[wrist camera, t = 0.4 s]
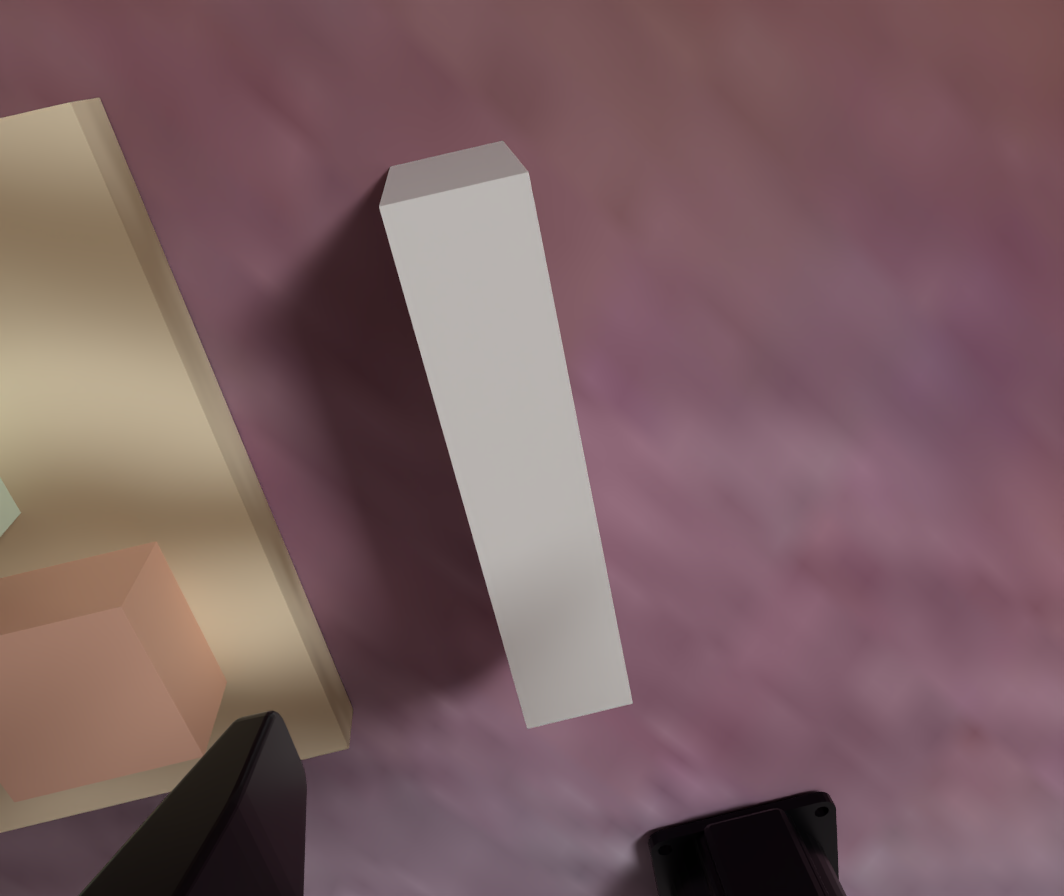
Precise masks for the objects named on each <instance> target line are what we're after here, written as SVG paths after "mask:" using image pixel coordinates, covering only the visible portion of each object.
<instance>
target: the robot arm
mask: <svg viewBox="0 0 1064 896" xmlns="http://www.w3.org/2000/svg"><path fill="white" fill-rule="evenodd" d="M306 798H307V784H306V776H305V771H304V767H303V764H302V762H301V759H300V757H299V755H298V752H297V750H296V748H295V745H294V743H293V741H292V738H291V736H290V734H289V731H288V729H287V726H286V724H285V722H284V720H283V718H282V717H281V715H280V714H279V713H278V712H275V711H266V712H261V713H257V714H252V715H247V716H243V717H240V718H238V719H236V720H235V721H234V722H233V723H232V724H231V725H230V726H229V727H228V728H227V729H226V730H225V732H224V733H223V734H222V735H221V736H220V737H219V738H218V739H217V741H216V742H215V743H214V744H213V745H212V746H211V747H210V748H209V750H208V751H207V752H206V753H205V754H204V755H203V756H202V757H201V758H200V760H199V761H198V762H197V763H196V764H195V765H194V766H193V767H192V769H191V770H190V771H189V772H188V773H187V774H186V775H185V776H184V778H183V779H182V780H181V781H180V782H179V783H178V784H177V785H176V787H175V788H174V789H173V790H172V791H171V792H170V793H169V794H168V796H167V797H166V798H165V799H164V800H163V801H162V802H161V803H160V805H159V806H158V807H157V808H156V809H155V810H154V811H153V812H152V814H151V815H150V816H149V817H148V818H147V819H146V820H145V821H144V823H143V824H142V825H141V826H140V827H139V828H138V829H137V830H136V832H135V833H134V834H133V835H132V836H131V837H130V838H129V839H128V841H127V842H126V843H125V844H124V845H123V846H122V847H121V848H120V850H119V851H118V852H117V853H116V854H115V855H114V856H113V857H112V858H111V860H110V861H109V862H108V863H107V864H106V865H105V866H104V867H103V869H102V870H101V871H100V872H99V873H98V874H97V875H96V876H95V878H94V879H93V880H92V881H91V882H90V883H89V884H88V885H87V887H86V888H85V889H84V890H83V891H82V892H81V893H80V894H79V896H303V894H304V862H305V830H306ZM648 845H649V850H650V855H651V860H652V865H653V869H654V874H655V879H656V884H657V889H658V894H659V896H846V894H845V892H844V890H843V888H842V886H841V884H840V882H839V875H838V850H837V825H836V807H835V805H834V803H833V801H832V799H831V797H830V795H828V794H827V793H825V792H815V793H811V794H807V795H803V796H799V797H795V798H791V799H787V800H783V801H779V802H775V803H771V804H767V805H762V806H758V807H754V808H750V809H746V810H742V811H738V812H734V813H730V814H726V815H722V816H718V817H714V818H709V819H705V820H701V821H697V822H693V823H689V824H685V825H681V826H677V827H673V828H669V829H665V830H661V831H658V832H655V833H654V834H653V835H651V836H650V838H649V840H648Z"/></svg>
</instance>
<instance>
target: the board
mask: <svg viewBox="0 0 1064 896" xmlns="http://www.w3.org/2000/svg"><path fill="white" fill-rule="evenodd" d="M0 478H1V479H2V481H3V483H4V485H5V486H6V488H7V490H8V491H9V493H10V495H11V496H12V498H13V500H14V502H15V503H16V505H17V507H18V508H19V510H20V512H21V514H20V515H19V516H18V517H17V518H16V519H15V520H14V522H13V523H12V524H11V525H10V526H9V527H8V529H7V530H6V531H5V532H4V533H3V534H2V536H1V537H0V578H3V577H7V576H12V575H16V574H20V573H24V572H29V571H33V570H37V569H41V568H45V567H50V566H54V565H58V564H62V563H67V562H71V561H75V560H79V559H83V558H88V557H92V556H96V555H100V554H105V553H109V552H113V551H117V550H121V549H126V548H130V547H134V546H138V545H143V544H147V543H151V542H155V541H157V543H158V545H159V547H160V549H161V551H162V553H163V555H164V557H165V559H166V561H167V563H168V565H169V567H170V569H171V571H172V573H173V575H174V577H175V579H176V581H177V583H178V585H179V587H180V589H181V591H182V593H183V595H184V597H185V599H186V601H187V603H188V605H189V607H190V609H191V611H192V613H193V615H194V617H195V619H196V621H197V623H198V625H199V627H200V629H201V631H202V633H203V635H204V637H205V639H206V641H207V643H208V645H209V647H210V649H211V651H212V653H213V655H214V657H215V659H216V661H217V663H218V665H219V667H220V669H221V671H222V673H223V675H224V677H225V679H226V681H227V684H226V687H225V690H224V694H223V697H222V700H221V703H220V707H219V710H218V713H217V716H216V720H215V723H214V726H213V729H212V733H211V736H210V739H209V742H208V746H207V749H206V752H207V751H208V750H209V748H210V747H211V746H212V745H213V744H214V743H215V742H216V741H217V739H218V738H219V737H220V736H221V735H222V734H223V733H224V732H225V730H226V729H227V728H228V727H229V726H230V725H231V724H232V723H233V722H234V721H235V720H236V719H238V718H240V717H243V716H247V715H252V714H257V713H261V712H266V711H275V712H278V713H279V714H280V715H281V717H282V718H283V720H284V722H285V724H286V726H287V729H288V731H289V734H290V736H291V738H292V741H293V743H294V745H295V748H296V750H297V752H298V755H299V757H300V759H301V760H303V759H308V758H312V757H316V756H320V755H324V754H328V753H332V752H336V751H341V750H345V749H349V744H350V734H351V725H352V715H353V708H352V706H351V703H350V701H349V698H348V696H347V693H346V691H345V689H344V686H343V684H342V681H341V679H340V677H339V674H338V672H337V669H336V667H335V665H334V662H333V660H332V657H331V655H330V652H329V650H328V648H327V645H326V643H325V640H324V638H323V636H322V633H321V631H320V628H319V626H318V624H317V621H316V619H315V616H314V614H313V611H312V609H311V607H310V604H309V602H308V599H307V597H306V595H305V592H304V590H303V587H302V585H301V583H300V580H299V578H298V575H297V573H296V570H295V568H294V566H293V563H292V561H291V558H290V556H289V554H288V551H287V549H286V546H285V544H284V542H283V539H282V537H281V534H280V532H279V529H278V527H277V525H276V522H275V520H274V517H273V515H272V513H271V510H270V508H269V505H268V503H267V501H266V498H265V496H264V493H263V491H262V488H261V486H260V484H259V481H258V479H257V476H256V474H255V472H254V469H253V467H252V464H251V462H250V460H249V457H248V455H247V452H246V450H245V448H244V445H243V443H242V440H241V438H240V435H239V433H238V431H237V428H236V426H235V423H234V421H233V419H232V416H231V414H230V411H229V409H228V407H227V404H226V402H225V399H224V397H223V394H222V392H221V390H220V387H219V385H218V382H217V380H216V378H215V375H214V373H213V370H212V368H211V366H210V363H209V361H208V358H207V356H206V353H205V351H204V349H203V346H202V344H201V341H200V339H199V337H198V334H197V332H196V329H195V327H194V325H193V322H192V320H191V317H190V315H189V312H188V310H187V308H186V305H185V303H184V300H183V298H182V296H181V293H180V291H179V288H178V286H177V284H176V281H175V279H174V276H173V274H172V271H171V269H170V267H169V264H168V262H167V259H166V257H165V255H164V252H163V250H162V247H161V245H160V243H159V240H158V238H157V235H156V233H155V230H154V228H153V226H152V223H151V221H150V218H149V216H148V214H147V211H146V209H145V206H144V204H143V202H142V199H141V197H140V194H139V192H138V189H137V187H136V185H135V182H134V180H133V177H132V175H131V173H130V170H129V168H128V165H127V163H126V161H125V158H124V156H123V153H122V151H121V148H120V146H119V144H118V141H117V139H116V136H115V134H114V132H113V129H112V127H111V124H110V122H109V120H108V117H107V115H106V112H105V110H104V107H103V105H102V103H101V100H100V98H94V99H88V100H82V101H76V102H70V103H65V104H61V105H57V106H52V107H48V108H43V109H39V110H35V111H30V112H26V113H21V114H17V115H13V116H8V117H4V118H0ZM206 752H205V753H206ZM199 760H200V758H196V759H192V760H188V761H184V762H180V763H176V764H172V765H167V766H163V767H159V768H155V769H151V770H147V771H143V772H138V773H134V774H130V775H126V776H122V777H118V778H114V779H109V780H105V781H101V782H97V783H93V784H89V785H85V786H81V787H76V788H72V789H68V790H64V791H60V792H56V793H52V794H47V795H43V796H39V797H35V798H31V799H27V800H23V801H18V802H14V801H13V800H12V798H11V797H10V796H9V794H8V793H7V792H6V790H5V789H4V788H3V786H2V785H1V783H0V833H2V832H6V831H10V830H14V829H18V828H22V827H27V826H31V825H35V824H39V823H43V822H47V821H51V820H56V819H60V818H64V817H68V816H72V815H76V814H80V813H84V812H89V811H93V810H97V809H101V808H105V807H109V806H113V805H117V804H122V803H126V802H130V801H134V800H138V799H142V798H146V797H151V796H155V795H159V794H163V793H167V792H171V791H172V790H173V789H174V788H175V787H176V785H177V784H178V783H179V782H180V781H181V780H182V779H183V778H184V776H185V775H186V774H187V773H188V772H189V771H190V770H191V769H192V767H193V766H194V765H195V764H196V763H197V762H198V761H199Z"/></svg>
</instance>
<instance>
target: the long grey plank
mask: <svg viewBox="0 0 1064 896" xmlns="http://www.w3.org/2000/svg"><path fill="white" fill-rule="evenodd" d="M379 209H380V212H381V216H382V219H383V223H384V226H385V230H386V233H387V237H388V240H389V244H390V247H391V251H392V254H393V258H394V261H395V265H396V269H397V272H398V276H399V279H400V283H401V286H402V290H403V293H404V297H405V300H406V304H407V307H408V311H409V314H410V318H411V321H412V325H413V328H414V332H415V335H416V339H417V342H418V346H419V349H420V353H421V356H422V360H423V364H424V367H425V371H426V374H427V378H428V381H429V385H430V388H431V392H432V395H433V399H434V402H435V406H436V409H437V413H438V416H439V420H440V423H441V427H442V430H443V434H444V437H445V441H446V444H447V448H448V451H449V455H450V459H451V462H452V466H453V469H454V473H455V476H456V480H457V483H458V487H459V490H460V494H461V497H462V501H463V504H464V508H465V511H466V515H467V518H468V522H469V525H470V529H471V532H472V536H473V539H474V543H475V547H476V550H477V554H478V557H479V561H480V564H481V568H482V571H483V575H484V578H485V582H486V585H487V589H488V592H489V596H490V599H491V603H492V606H493V610H494V613H495V617H496V620H497V624H498V627H499V631H500V634H501V638H502V642H503V645H504V649H505V652H506V656H507V659H508V663H509V666H510V670H511V673H512V677H513V680H514V684H515V687H516V691H517V694H518V698H519V701H520V705H521V708H522V712H523V715H524V719H525V722H526V726H527V729H529V728H533V727H538V726H542V725H546V724H550V723H554V722H558V721H562V720H566V719H571V718H575V717H579V716H583V715H587V714H591V713H595V712H599V711H604V710H608V709H612V708H616V707H620V706H624V705H628V704H633V702H632V697H631V692H630V687H629V682H628V677H627V672H626V667H625V662H624V656H623V651H622V646H621V641H620V636H619V631H618V626H617V621H616V616H615V611H614V605H613V600H612V595H611V590H610V585H609V580H608V575H607V570H606V565H605V560H604V555H603V549H602V544H601V539H600V534H599V529H598V524H597V519H596V514H595V509H594V504H593V499H592V493H591V488H590V483H589V478H588V473H587V468H586V463H585V458H584V453H583V448H582V442H581V437H580V432H579V427H578V422H577V417H576V412H575V407H574V402H573V397H572V392H571V386H570V381H569V376H568V371H567V366H566V361H565V356H564V351H563V346H562V341H561V335H560V330H559V325H558V320H557V315H556V310H555V305H554V300H553V295H552V290H551V285H550V279H549V274H548V269H547V264H546V259H545V254H544V249H543V244H542V239H541V234H540V228H539V223H538V218H537V213H536V208H535V203H534V198H533V193H532V188H531V183H530V178H529V172H528V171H527V170H526V168H525V167H524V166H523V165H522V164H521V162H520V161H519V160H518V159H517V157H516V156H515V155H514V154H513V153H512V151H511V150H510V149H509V148H508V146H507V145H506V144H505V143H504V142H503V141H499V142H495V143H491V144H486V145H482V146H478V147H473V148H469V149H465V150H461V151H456V152H452V153H448V154H443V155H439V156H435V157H430V158H426V159H422V160H417V161H413V162H409V163H404V164H400V165H396V166H391V167H390V169H389V172H388V176H387V180H386V183H385V187H384V190H383V194H382V197H381V201H380V205H379Z"/></svg>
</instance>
